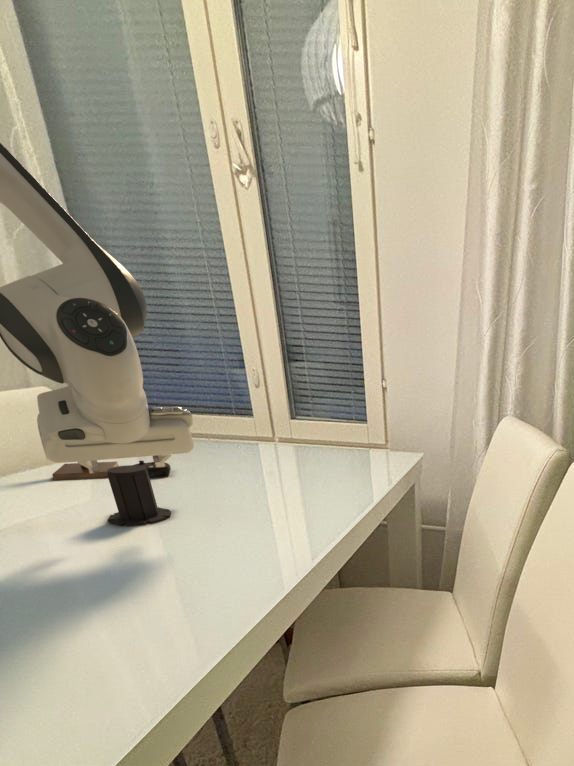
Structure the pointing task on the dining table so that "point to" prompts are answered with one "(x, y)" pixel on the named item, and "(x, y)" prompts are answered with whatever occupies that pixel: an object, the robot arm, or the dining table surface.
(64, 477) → the hat stand
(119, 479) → the hat
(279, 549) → the dining table surface
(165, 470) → the gaming controller
